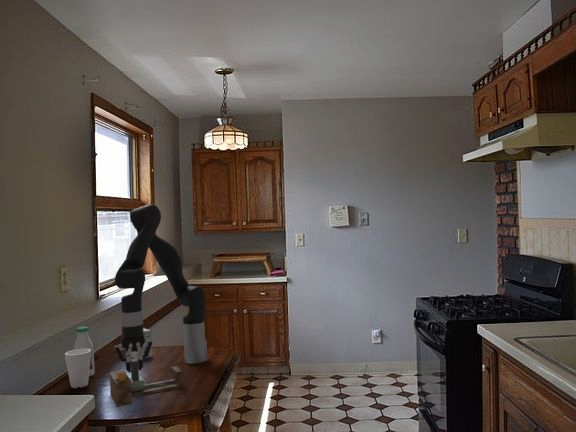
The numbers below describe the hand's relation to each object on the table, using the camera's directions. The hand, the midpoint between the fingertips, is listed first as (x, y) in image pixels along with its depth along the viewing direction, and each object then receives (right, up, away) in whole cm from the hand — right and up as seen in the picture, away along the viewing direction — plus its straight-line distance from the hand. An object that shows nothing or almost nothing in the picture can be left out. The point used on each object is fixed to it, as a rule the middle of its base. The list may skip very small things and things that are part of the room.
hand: (134, 370), depth 184 cm
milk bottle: (-29, -10, +26) cm, 40 cm away
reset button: (-1, -2, -10) cm, 10 cm away
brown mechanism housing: (+6, -8, -1) cm, 10 cm away
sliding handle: (0, -7, 0) cm, 7 cm away
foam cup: (-25, -10, +13) cm, 30 cm away
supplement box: (-12, -10, +51) cm, 53 cm away
